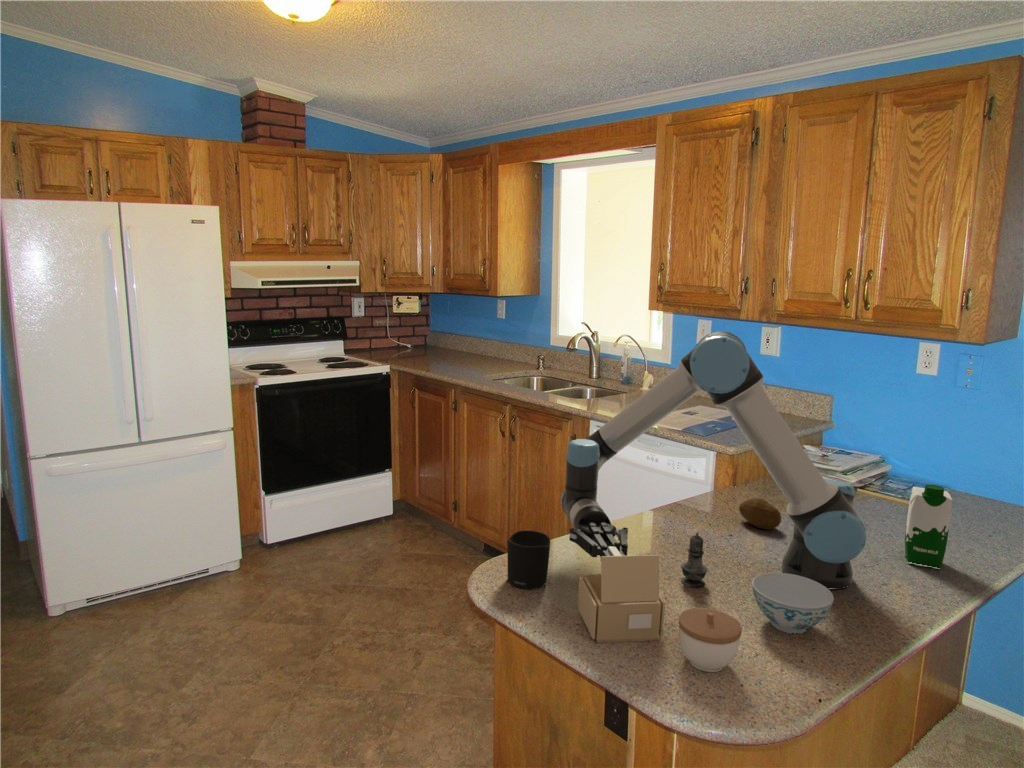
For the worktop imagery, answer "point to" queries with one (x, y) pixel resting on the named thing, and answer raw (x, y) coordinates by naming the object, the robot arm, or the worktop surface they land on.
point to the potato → (760, 513)
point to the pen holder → (528, 559)
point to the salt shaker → (694, 564)
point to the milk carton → (928, 525)
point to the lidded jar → (709, 638)
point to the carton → (618, 615)
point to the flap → (629, 578)
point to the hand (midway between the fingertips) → (620, 566)
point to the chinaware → (791, 601)
